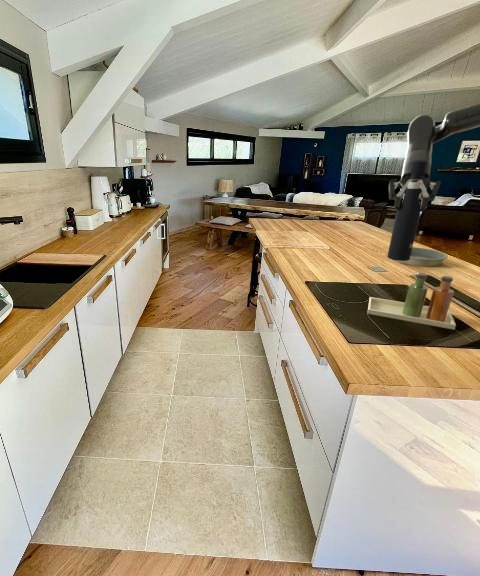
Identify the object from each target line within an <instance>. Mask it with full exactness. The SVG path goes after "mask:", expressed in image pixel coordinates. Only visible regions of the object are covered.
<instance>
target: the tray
mask: <svg viewBox="0 0 480 576" xmlns="http://www.w3.org/2000/svg"><path fill="white" fill-rule="evenodd" d="M368 299H369V300H368V306H367V311H366V312H367V315H373V316H378V317H384V318H388V319H389V318H390V319H395V320H399V321H405V322H412V323H416V324H422V325H427V326H431V327H437V328H438V327H439V328H444V329H448V330H456V327H457V324H456V321H455V319H454V317H453V314H452V312H451V310H450V309H448V313H447V316H446V319H445V321H444V322H440V321H434V320H429V319H427V318H426V314H427V310H428V307H429V305H423V308H422V312H421V315H420V317H412V316H406V315H404V314H403V313H402V312H403V308H404V304H405V301H404V302H403V301H397V300H391V299H384V298H379V297H372V296H369V298H368Z"/></svg>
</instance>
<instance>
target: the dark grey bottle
mask: <svg viewBox="0 0 480 576" xmlns="http://www.w3.org/2000/svg"><path fill="white" fill-rule="evenodd" d="M426 165H427V162H412V164H411V168H410V173H412V176H411V179H410V180H411V181H420V180H421V175H422V173H425V170H426ZM420 185H421V182H409V184H408V188H407V189H406V193H405V196H404V197H403V198H402V199H403V200H401V202H400V207H399V211H397V210H396V213H395V217H394V221H393V227H392V232H391V236H390V241H389V245H388V251H387V255H386V257H387V259H389V260H392V261H395V260H398V261H408V260H410V256H411V251H412V247H414V242H415V238H416V234H417V229H418V226H419V222H420V218H421V217H420V216H421V212H420V208H421V202H420V198H419V195H420V191H421V189H420V187H421V186H420Z"/></svg>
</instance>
